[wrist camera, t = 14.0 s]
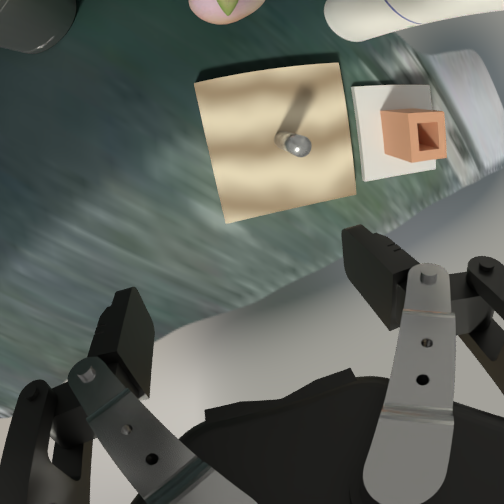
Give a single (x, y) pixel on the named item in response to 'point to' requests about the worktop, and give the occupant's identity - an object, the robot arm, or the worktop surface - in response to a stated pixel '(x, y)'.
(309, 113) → the stand base
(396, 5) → the cylindrical container
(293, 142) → the post
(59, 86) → the worktop surface
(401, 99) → the pad
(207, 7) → the decorative fruit
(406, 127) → the collar
